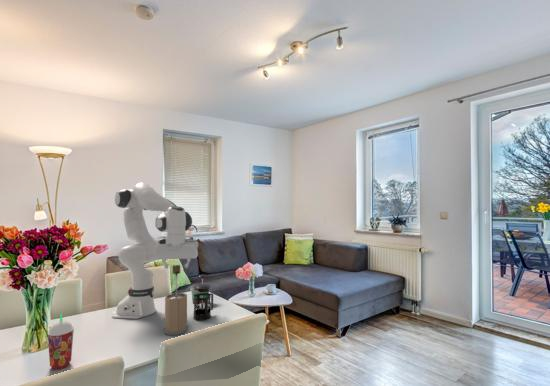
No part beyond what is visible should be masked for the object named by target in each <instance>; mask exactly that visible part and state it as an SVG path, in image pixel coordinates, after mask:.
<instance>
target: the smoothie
mask: <svg viewBox="0 0 550 386" xmlns="http://www.w3.org/2000/svg"><path fill="white" fill-rule="evenodd" d="M59 315H60V316H59V317H60V318H59V320H58V321H56V322H54V323H53V324H52V326H50V328H49V330H48V332H47V342H48V343H47V344H48V356H49V358H48V359H49V366H50V367H51V369H52V370H61V368H62V369H64V368H67V367H69V365H70V362H71V361H72V355H73V343H74V342H73V341H74V340H73V339H74V329H75V328H74V326H73V325H72V323H71V322H70V321H69V320H65V319H63V313H60V314H59Z"/></svg>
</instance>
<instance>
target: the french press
mask: <svg viewBox="0 0 550 386" xmlns="http://www.w3.org/2000/svg"><path fill="white" fill-rule="evenodd" d="M204 277H207V274H200V275H198V278H201V283H200V284H196V285H194V286H193V287H194V288H195V290H198V291H199V292H201V293H199V294H195V295H194V304H193V318H192V319H193V320H194V321H196V322H203V321H204V322H205V321H207V320H210V319H211V318H212V315H211V314H212V313H211V312H212V311H213V310H214V293H212V292H210V290H211V285H210V284H208V283H207V284H206V283H205V284H204V282H203V281H204ZM208 291H209V293H203V292H208ZM201 295H202V298H200V296H201ZM203 295H207V296H208V297H206V298H203ZM196 297H197V298H196ZM196 300H197V304H196ZM203 300H205V303H203ZM200 301H202V303H200Z"/></svg>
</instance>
